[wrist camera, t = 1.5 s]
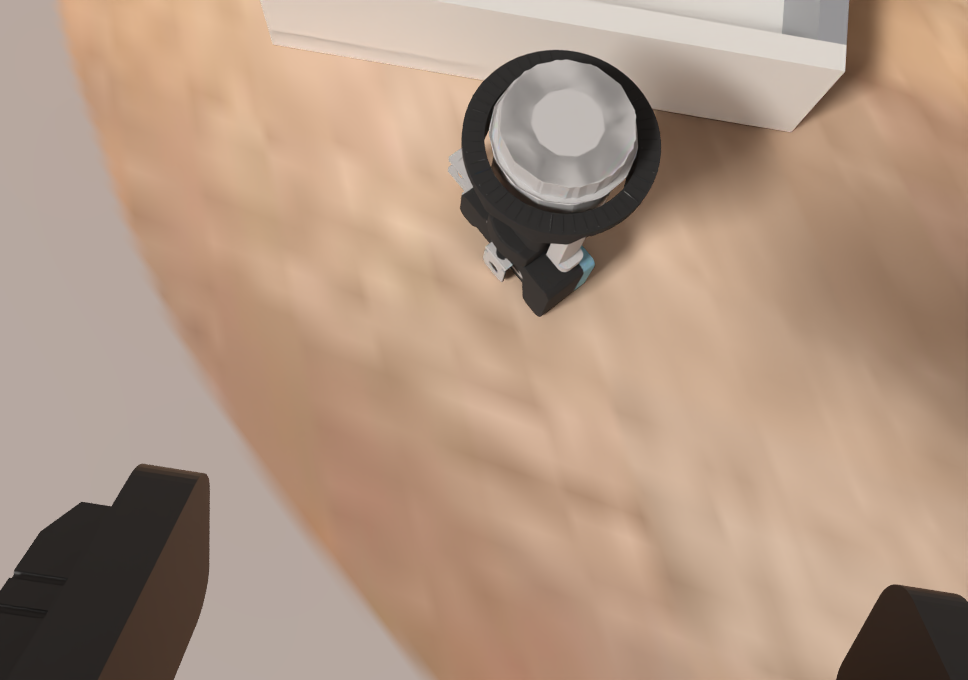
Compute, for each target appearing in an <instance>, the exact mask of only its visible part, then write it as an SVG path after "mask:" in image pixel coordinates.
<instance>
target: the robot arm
mask: <svg viewBox="0 0 968 680" xmlns="http://www.w3.org/2000/svg"><path fill="white" fill-rule="evenodd" d="M209 487H210V485H209V478H208V476H207V474H204V473H198V472H192V471H185V470H179V469H173V468H166V467H160V466H154V465H147V464H140V465H138V466H137V467H136V468H135V469H134V470H133V472H132V473H131V475H130V476H129V478H128V480H127V481H126V483H125V485H124V486H123V488H122V490H121V491H120V493H119V495H118V497H117V498H116V500H115V501H114V503H113V505H112V506H105V505H98V504H92V503H85V502H81V503H79V504H78V505H77V506H75V507H74V508H72V509H71V510H70V511H68V512H67V513H66V514H64V515H63V516H61V517H60V518H59V519H57V520H56V521H54V522H53V523H52V524H50V525H49V526H48V527H46V528H45V529H43V530H42V531H41V532H40V533H39V534H38V536H37V538H36V539H35V540H34V542H33V543H32V545H31V546H30V548H29V550H28V551H27V552H26V554H25V555H24V557H23V558H22V560H21V561H20V562H19V564H18V565H17V567H16V568H15V570H14V575H13V577H12V578H9V579H8V580H7V582H6V583H5V585H4V586H3V588H2V589H1V590H0V680H174V678H175V675H176V673H177V670H178V668H179V665H180V663H181V661H182V658H183V656H184V653H185V651H186V648H187V646H188V643H189V641H190V638H191V636H192V634H193V631H194V629H195V627H196V624H197V621H198V619H199V616H200V613H201V609H202V606H203V602H204V598H205V594H206V589H207V583H208V575H209V514H210V513H209V511H210V510H209V509H210V507H209V504H210V503H209V502H210V501H209V500H210V488H209ZM836 680H968V602H967V601H966V599H965V598H963V597H962V596H960V595H958V594H954V593H947V592H941V591H934V590H928V589H922V588H915V587H909V586H903V585H890V586H889V587H887V588H886V589H885V590H884V591H883V592H882V593H881V595H880V596H879V598H878V600H877V602H876V603H875V605H874V607H873V609H872V611H871V612H870V614H869V616H868V618H867V620H866V621H865V623H864V625H863V627H862V628H861V630H860V632H859V634H858V636H857V637H856V639H855V641H854V643H853V644H852V646H851V648H850V650H849V652H848V653H847V655H846V657H845V659H844V661H843V662H842V664H841V666H840V668H839V671H838V674H837V679H836Z"/></svg>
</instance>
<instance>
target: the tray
mask: <svg viewBox="0 0 968 680" xmlns="http://www.w3.org/2000/svg"><path fill="white" fill-rule="evenodd" d="M260 2H261V6H262V9H263V12H264V16H265V19H266V23H267V26H268V30H269V33H270V36H271V40H272V43H273V45H279V46H285V47H291V48H296V49H302V50H308V51H314V52H320V53H326V54H332V55H338V56H344V57H350V58H355V59H361V60H367V61H373V62H379V63H385V64H391V65H397V66H403V67H409V68H414V69H420V70H426V71H432V72H438V73H444V74H450V75H456V76H462V77H468V78H473V79H479V80H485V79H486V78H487V77H488V76H489V75H490V74H491V73H492V72H494V71H495V70H496V69H498V68H499V67H500V66H502V65H504V64H505V63H507V62H509V61H511V60H513V59H515V58H517V57H520V56H523V55H525V54H529V53H533V52H537V51H545V50H568V51H575V52H580V53H584V54H588V55H591V56H593V57H596V58H599V59H601V60H603V61H605V62H607V63H609V64H611V65H612V66H614V67H616V68H617V69H619V70H620V71H621V72H623V73H624V74H625V75H626V76H627V77H629V78H630V79H631V80H632V81H633V82H634V83H635V84H636V85H637V87H638V88H639V89H640V90H641V92H642V93H643V94H644V96H645V97H646V99H647V100H648V102H649V104H650V105H651V108H652V109H656V110H662V111H668V112H674V113H680V114H686V115H692V116H698V117H704V118H710V119H715V120H721V121H727V122H733V123H739V124H745V125H751V126H757V127H763V128H769V129H774V130H780V131H786V132H792V131H793V129H794V128H795V127H796V126H797V125H798V124H799V123H800V122H801V120H802V119H803V118H804V117H805V116H806V115H807V114H808V113H809V111H810V110H811V109H812V108H813V107H814V106H815V105H816V104H817V102H818V101H819V100H820V99H821V98H822V97H823V96H824V95H825V93H826V92H827V91H828V90H829V89H830V88H831V87H832V86H833V84H834V83H835V82H836V81H837V80H838V79H839V78H840V77H841V75H842V74H843V73H844V72H845V64H846V47H847V29H848V11H849V0H260Z"/></svg>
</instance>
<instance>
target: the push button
mask: <svg viewBox="0 0 968 680" xmlns="http://www.w3.org/2000/svg"><path fill="white" fill-rule="evenodd" d="M488 131H489V137H490V141H491V146H492V150H493V155H494V156H493V162H492V168H491V167H490V164H489V162H488V159H487V156H486V151H485V144H484V139H485V137H486V135H487V133H488ZM660 156H661V139H660V131H659V127H658V123H657V120H656V117H655V114H654V112H653V110H652V108H651V105H650V104H649V102H648V100H647V99H646V97H645V96H644V94H643V93H642V92H641V90H640V89H639V88H638V87H637V85H636V84H635V83H634V82H633V81H632V80H631V79H630V78H629V77H627V76H626V75H625V74H624V73H623V72H621V71H620V70H619V69H617V68H616V67H614V66H612V65H611V64H609V63H607V62H605V61H603V60H601V59H599V58H596V57H593V56H591V55H588V54H584V53H580V52H575V51H568V50H545V51H537V52H533V53H529V54H525V55H523V56H520V57H517V58H515V59H513V60H511V61H509V62H507V63H505V64H504V65H502V66H500V67H499V68H498V69H496V70H495V71H494V72H492V73H491V74H490V75H489V76H488V77H487V78H486V79H485V80H484V81H483V82H482V84H481V85H480V86H479V87H478V89H477V90H476V92H475V93H474V95H473V97H472V99H471V101H470V103H469V105H468V108H467V111H466V113H465V118H464V122H463V129H462V148H461V149H459V150H458V151H456V152H455V153H454V154H452V155H451V156H449V162H450V163H451V164H452V165H451V166H450V167H448V172H449V173H450V174H451V176H452V177H453V178H454V179H455V180H456V182H457V183H458V184H459V185H460V186H461V188H462V189H463V190H464V192H463V193H462V197H461V205H460V209H461V212H462V214H463V215H464V217H465V218H466V219H467V220H468V221H469V223H470V224H471V225H473V226H475V227H477V228H478V229H479V231H480V232H481V233H482V234H483V236H484V237H485V238H486V239H487V240H488V242H489V243H490V244H488V245H487V246H486V247H485V248H486V249H485V251H484V256H483V260H484V262H485V264H486V265H487V266H488V267H489V269H490V270H491V271H492V272H493V274H494V275H495V276H496V277H497V278H498V280H500V281H501V282H502V281H503V280H504V277H505V274H506V270H507V269H509V268H511V269H512V271H513V272H514V273H515V274H516V276H517V277H518V278H519V279H520V280H521V282H522V290H523V299H524V301H525V302H526V303H527V305H528V306H529V307H530V308H531V310H532V311H533V312H534V313H535V314H536V315H537V316H539V317H541V316H542V315H543V314H544V313H546V312H547V311H548V310H550V309H551V308H552V307H554V306H555V305H556V304H557V303H559V302H560V301H561V300H563V299H564V298H565V297H567V296H568V295H569V294H570V293H572V292H573V291H574V290H576V289H577V288H578V287H580V286H581V285H582V284H583V283H585V281H586V279H587V277H588V276H589V274H590V273H591V271H592V269H593V268H594V266H595V263H594V260H593V258H592V257H591V256H590V254H589V253H588V252H587V251H586V250H585V248H584V247H583V246H582V244H583V242H584V240H585V238H586V237H588V236H593V235H596V234H599V233H602V232H604V231H606V230H608V229H610V228H612V227H614V226H616V225H617V224H619V223H620V222H622V221H623V220H624V219H626V218H627V217H628V216H629V215H630V214H631V213H632V212H634V211H635V209H636V208H637V207H638V206H639V205H640V204H641V202H642V201H643V199H644V198H645V196H646V195H647V193H648V192H649V190H650V188H651V186H652V184H653V182H654V180H655V177H656V174H657V172H658V167H659V163H660ZM458 173H459V174H460V175H461V176H462V177H463V178H461V177H460V176H459V175H458ZM625 178H626V182H625V185H624V188H623V190H622V191H621V192H620V193H619V194H618V195H616V196H615V197H614V198H613V199H611V200H610V201H608V202H607V203H605V202H606V200H607V198H608V196H609V194H610V192H611V190H613V189H614V188H615V187H616V186H617V185H619V184H620V183H621V182H622V181H623V180H624V179H625ZM604 203H605V204H604ZM491 263H492V264H493V265H494V266H495V267H496V269H497V270H496V269H495V268H494V267H493V266H492V264H491Z"/></svg>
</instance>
